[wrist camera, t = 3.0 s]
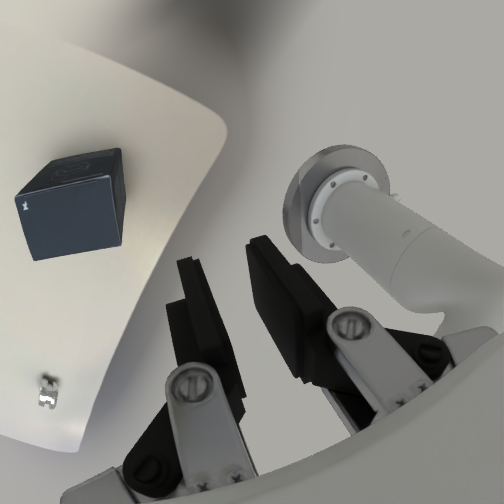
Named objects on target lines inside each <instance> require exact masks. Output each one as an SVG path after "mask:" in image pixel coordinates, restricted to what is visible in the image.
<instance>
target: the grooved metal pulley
mask: <svg viewBox="0 0 504 504" xmlns="http://www.w3.org/2000/svg"><path fill="white" fill-rule="evenodd" d="M57 397H58V384H57V383H56V382H55V381H53V382H52V384H49V383H48V379H46V378H43V377H42V381H41V386H40V393H39V403H38V405H40V406H43V407H44V404H45V403H46V404H49V409H54V408H55V407H56V403H57Z"/></svg>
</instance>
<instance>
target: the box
mask: <svg viewBox="0 0 504 504" xmlns="http://www.w3.org/2000/svg"><path fill="white" fill-rule="evenodd" d="M125 202H126V194H125V185H124V177H123V167H122V155H121V149H120V148H116V149H109V150H103V151H97V152H92V153H86V154H81V155H76V156H71V157H67V158H62V159H58V160H54V161H51V162H50V163H48V165H46V166H45V167H44V168H43V169H42V170H41V171H40V172H39V173H38V174H37V175H36V176H35V177H34V178H33V179H32V180H31V181H30V182H29V183H28V184H27V185H26V186H25V187H24V188H23V189H22V190H21V191H20V192H19V193H18V194H17V195H16V196H15V203H16V207H17V210H18V214H19V217H20V221H21V225H22V228H23V232H24V235H25V238H26V241H27V244H28V247H29V250H30V253H31V255H32V258H33V260H34V261H38V260H43V259H48V258H54V257H59V256H65V255H70V254H76V253H81V252H87V251H93V250H99V249H105V248H111V247H117V246H121V244H122V232H123V221H124V210H125Z"/></svg>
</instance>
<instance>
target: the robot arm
mask: <svg viewBox="0 0 504 504" xmlns="http://www.w3.org/2000/svg"><path fill="white" fill-rule="evenodd" d="M399 201H400V197H399V195H398V194H392V195H387V194H385V193H384V192H382V191H380V189H379V186H378V184H377V182H376V180H375V179H374V178H373V177H372V176H371V175H370V174H369V173H367V172H365V171H363V170H360V169H357V168H347V169H342V170H340V171H337V172H335V173H334V174H332V175H331V176H329V177H328V178H327V179H326V180H325V181H324V182H323V183H322V184H321V185H320V186H319V188H318V189H317V191H316V192H315V194H314V196H313V198H312V201H311V203H310V207H309V212H308V225H309V230H310V232H311V235H312V236H313V238H314V239H315V240H316V241H317V242H318V243H319V244H320V245H321V246H323V247H324V248H326V249H329V250H343V251H344V252H345V253H346V254H347V255H348V256H349V257H351V259H353V260H354V261H355V262H356V263H357V264H358V265H359V266H360V267H361V268H362V269H363V270H364V271H365V272H367V273H368V274H369V275H370V276H371V277H372V278H373V279H374V280H375V281H376V282H377V283H378V284H379V285H380V286H381V287H382V288H383V289H384V290H386V291H387V292H388V293H389V294H390V295H391V296H392V297H393V298H394V299H395V300H396V301H397V302H398V303H399V304H400V305H401V306H403V307H404V308H406V309H407V310H409V311H412V312H415V313H437V312H444V313H445V317H444V320H443V322H442V323H441V325H440V326H439V328H438V330H437V331H436V333H435V334H434V335H433V336H429V335H423V334H417V333H410V332H405V331H399V330H393V329H388V328H383V327H382V325H381V324H380V323H379V322H378V321H377V320H376V319H375V318H374V317H373V316H372V315H371V314H370V313H368V312H367V311H366V310H363V309H361V308H357V307H343V308H340V309H337V308H336V306H335V305H334V304H333V303H332V302H331V300H330V299H329V298H328V297H327V296H326V295H325V293H324V292H323V291H322V290H321V288H320V287H319V286H318V285H317V284H316V283H315V281H314V280H313V279H312V278H311V277H310V276H309V274H308V273H307V272H306V271H305V270H304V268H303V267H302V266H301V265H300V264H297V263H296V264H293V265H290V263H289V262H288V261H287V260H286V258H285V257H284V256H283V255H282V254H281V252H280V251H279V250H278V249H277V247H276V246H275V245H274V244H273V243H272V242H271V240H270V239H269V238H268V236H266V235H263V236H259V237H256V238H252V239H250V244H247V245H246V254H247V260H248V266H249V273H250V279H251V285H252V292H253V298H254V303H255V307H256V309H257V311H258V313H259V315H260V317H261V319H262V320H263V322H264V324H265V326H266V327H267V329H268V331H269V333H270V335H271V337H272V339H273V340H274V342H275V344H276V346H277V348H278V349H279V351H280V353H281V355H282V356H283V358H284V360H285V362H286V364H287V365H288V367H289V369H290V371H291V373H292V375H293V376H294V377H295V378H298V377H300V378H301V380H302V381H303V383H304V384H306V383H308V382H312V384H313V385H315V386H319V387H321V389H322V391H323V393H324V394H325V396H326V398H327V399H328V401H329V402H330V404H331V405H332V407H333V408H334V410H335V411H336V413H337V415H338V416H339V418H340V419H341V420H342V422H343V424H344V425H345V427H346V428H347V430H348V431H349V433H350V434H351V437H349V438H347V439H345V440H343V441H341V442H339V443H337V444H335V445H333V446H331V447H329V448H327V449H325V450H323V451H320V452H318V453H316V454H314V455H311V456H309V457H307V458H305V459H302V460H300V461H297V462H295V463H293V464H290V465H287V466H285V467H282V468H280V469H277V470H275V471H272V472H269V473H266V474H263V475H260V476H259V475H258V472H257V470H256V467H255V465H254V462H253V460H252V457H251V455H250V452H249V450H248V447H247V444H246V442H245V439H244V436H243V434H242V431H241V428H240V426H239V422H240V420H241V419H242V417H243V415H244V413H245V412H246V411H245V408H244V405H243V402H242V398H245V397H247V396H246V393H245V389H244V386H243V383H242V379H241V376H240V372H239V369H238V365H237V362H236V359H235V355H234V351H233V348H232V345H231V342H230V339H229V336H228V333H227V331H226V329H225V326H224V324H223V321H222V318H221V316H220V314H219V311H218V308H217V305H216V303H215V300H214V298H213V295H212V292H211V290H210V287H209V285H208V282H207V279H206V277H205V274H204V271H203V269H202V266H201V263H200V260H199V259H196V260H193V259H192V256H191V257H187V258H184V259H181V260H177V266H178V270H179V274H180V278H181V282H182V286H183V290H184V294H185V299H182V300H178V301H176V302H172V303H169V304H166V310H167V316H168V321H169V326H170V332H171V337H172V342H173V347H174V351H175V356H176V361H177V365H178V367H177V368H176V369H175V370H173V371H172V372H171V373H170V375H169V376H168V378H167V381H166V383H165V394H166V400H167V402H166V403H165V404H164V406H163V407H162V408H161V410H160V411H159V413H158V414H157V415H156V417H155V418H154V419H153V421H152V422H151V424H150V425H149V426H148V428H147V429H146V431H145V432H144V433H143V435H142V436H141V437H140V438H139V440H138V441H137V443H136V444H135V445H134V447H133V448H132V449H131V451H130V452H129V453H128V455H127V456H126V458H125V460H124V462H123V465H121V466H119V467H117V468H115V467H111V468H109V469H107V470H105V471H104V472H102V473H100V474H98V475H96V476H94V477H92V478H90V479H88V480H86V481H84V482H82V483H80V484H78V485H76V486H74V487H71V488H70V489H68V490H66V491H65V492H64V493H63V494H62V496H61V498H60V504H504V267H503V266H501V265H499V264H497V263H495V262H493V261H491V260H490V259H488V258H486V257H484V256H483V255H481V254H479V253H478V252H476V251H474V250H473V249H471V248H470V247H468V246H466V245H465V244H463V243H462V242H460V241H459V240H457V239H456V238H454V237H453V236H451V235H449V234H448V233H447V232H445V231H443V230H442V229H440V228H439V227H437V226H436V225H434V224H432V223H431V222H429V221H427V220H426V219H425V218H423V217H422V216H420V215H418V214H417V213H415V212H413V211H412V210H410V209H409V208H407V207H405V206H404V205H402V204H400V203H398V202H399Z"/></svg>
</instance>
